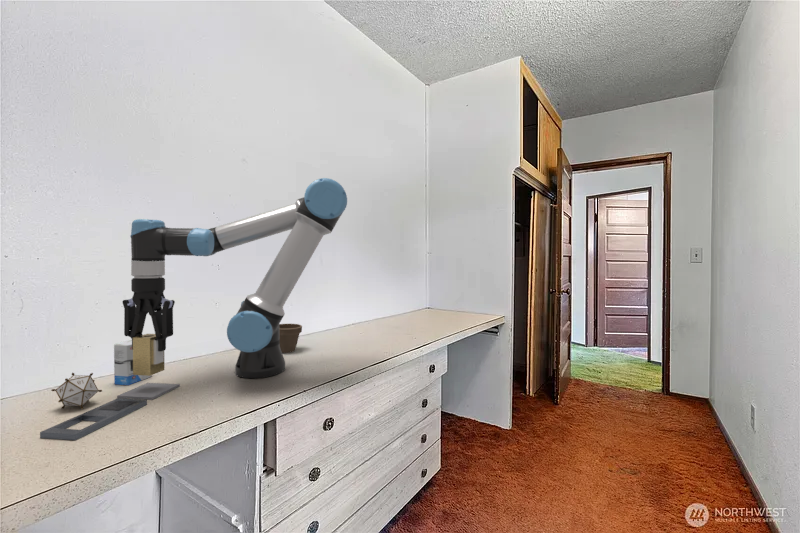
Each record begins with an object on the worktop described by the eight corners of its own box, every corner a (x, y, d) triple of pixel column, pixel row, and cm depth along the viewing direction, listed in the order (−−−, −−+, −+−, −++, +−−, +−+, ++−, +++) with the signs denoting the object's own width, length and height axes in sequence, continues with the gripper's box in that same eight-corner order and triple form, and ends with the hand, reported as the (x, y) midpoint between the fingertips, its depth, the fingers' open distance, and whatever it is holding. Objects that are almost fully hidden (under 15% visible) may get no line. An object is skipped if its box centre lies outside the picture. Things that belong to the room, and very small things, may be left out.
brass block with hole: (164, 369, 102) (164, 334, 102) (150, 375, 97) (150, 337, 97) (147, 369, 103) (147, 333, 102) (133, 374, 98) (132, 337, 97)
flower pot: (307, 348, 148) (307, 323, 148) (292, 356, 137) (292, 329, 137) (281, 347, 150) (281, 322, 150) (265, 354, 139) (265, 327, 139)
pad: (179, 386, 104) (179, 384, 104) (152, 399, 94) (152, 397, 94) (147, 384, 105) (147, 382, 105) (117, 397, 96) (117, 395, 96)
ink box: (127, 385, 105) (127, 344, 104) (113, 384, 106) (112, 344, 105) (153, 376, 113) (152, 338, 113) (140, 375, 114) (139, 337, 114)
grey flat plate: (146, 404, 91) (146, 399, 91) (75, 440, 73) (75, 434, 73) (117, 403, 92) (117, 398, 92) (40, 438, 74) (40, 431, 74)
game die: (74, 425, 88) (48, 402, 82) (62, 405, 92) (36, 382, 86) (114, 398, 94) (93, 374, 88) (101, 380, 98) (80, 357, 92)
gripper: (189, 276, 102) (189, 360, 102) (129, 275, 104) (130, 357, 104) (169, 278, 94) (169, 368, 95) (105, 277, 96) (106, 365, 97)
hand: (149, 362), depth 100 cm, fingers closed on brass block with hole, 5 cm apart
